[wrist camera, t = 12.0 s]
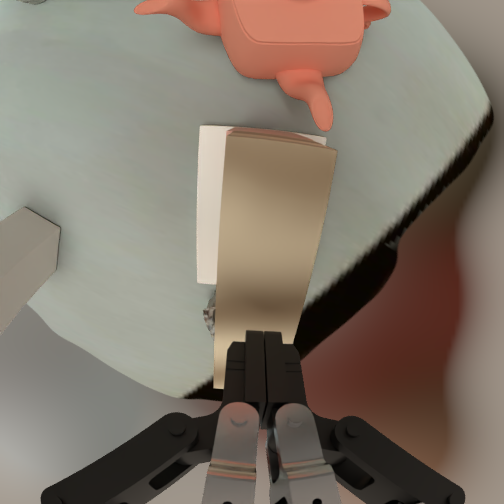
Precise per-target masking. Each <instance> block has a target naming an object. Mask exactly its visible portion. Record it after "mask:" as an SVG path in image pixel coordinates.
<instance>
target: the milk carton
mask: <svg viewBox="0 0 504 504" xmlns="http://www.w3.org/2000/svg"><path fill="white" fill-rule="evenodd" d="M59 236H60V227H58V226H56V225H54V224H53V223H51V222H49V221H47V220H46V219H44V218H42V217H41V216H39V215H37V214H36V213H34V212H32V211H31V210H29V209H27V208H26V207H23V208H21V209H20V210H18V211H16V212H15V213H13V214H11V215H10V216H8V217H7V218H5V219H4V220H2V221H1V222H0V335H1V334H2V333H3V332H4V330H5V329H6V328H7V326H8V325H9V324H10V322H11V321H12V320H13V319H14V317H15V316H16V315H17V314H18V313H19V311H20V310H21V309H22V308H23V306H24V305H25V304H26V303H27V302H28V301H29V300H30V298H31V297H32V296H33V295H34V294H35V293H36V292H37V290H38V289H39V288H40V287H41V286H42V285H43V284H44V283H45V282H46V281H47V280H48V278H49V277H50V276H51V275H52V274H53V273H54V272H55V271H56V266H57V254H58V245H59Z"/></svg>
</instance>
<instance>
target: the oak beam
mask: <svg viewBox="0 0 504 504" xmlns="http://www.w3.org/2000/svg"><path fill="white" fill-rule="evenodd" d="M336 157H337V150H335V149H332V148H330V147H327V146H325V145H323V144H320V143H318V142H315V141H313V140H308V139H301V138H295V137H288V136H281V135H273V134H265V133H256V132H246V131H233V132H231V133H230V134H228V135H227V136H226V147H225V158H224V170H223V183H222V196H221V210H220V225H219V242H218V260H217V281H216V306H215V340H214V388H220V389H224V380H225V369H226V357H227V349H228V348H229V346H230V345H231V343H232V342H233V341H238V342H245V334H246V330H255V331H263V333H264V331H277V332H281V333H282V340H283V344H293V340H294V337H295V334H296V330H297V327H298V323H299V320H300V316H301V312H302V309H303V305H304V302H305V298H306V294H307V290H308V286H309V283H310V279H311V275H312V271H313V267H314V263H315V258H316V254H317V250H318V246H319V241H320V237H321V233H322V228H323V224H324V219H325V214H326V209H327V205H328V200H329V195H330V190H331V184H332V179H333V174H334V168H335V163H336Z"/></svg>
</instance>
